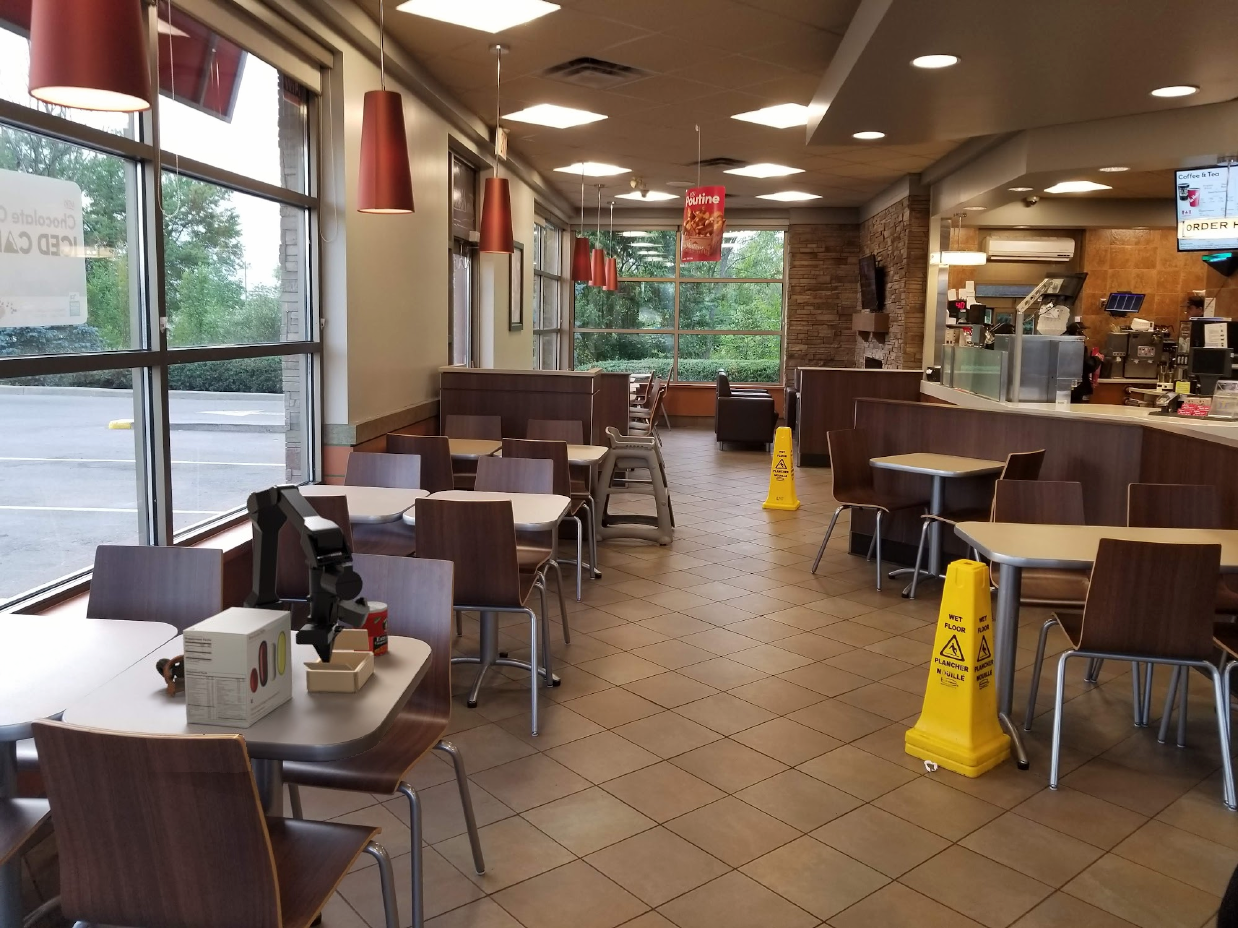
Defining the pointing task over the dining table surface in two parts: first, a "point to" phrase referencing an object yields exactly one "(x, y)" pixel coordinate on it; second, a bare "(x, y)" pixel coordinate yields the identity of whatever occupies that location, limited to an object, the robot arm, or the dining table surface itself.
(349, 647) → the far flap
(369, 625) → the canned food
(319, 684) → the carton
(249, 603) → the robot arm
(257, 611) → the supplement box
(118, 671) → the dining table surface
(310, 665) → the near flap
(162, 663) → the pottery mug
